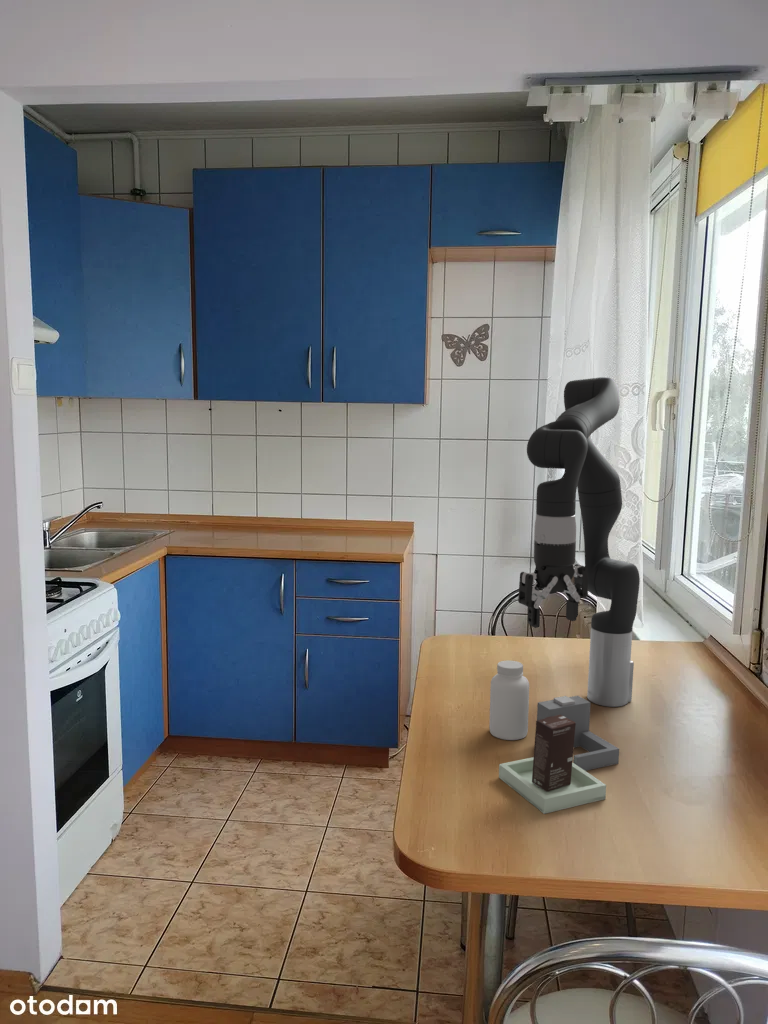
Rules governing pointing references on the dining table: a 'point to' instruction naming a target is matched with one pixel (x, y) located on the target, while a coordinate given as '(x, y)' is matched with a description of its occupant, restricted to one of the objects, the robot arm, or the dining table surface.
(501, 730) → the pill bottle
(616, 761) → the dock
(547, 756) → the box
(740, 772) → the dining table surface
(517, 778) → the tray
